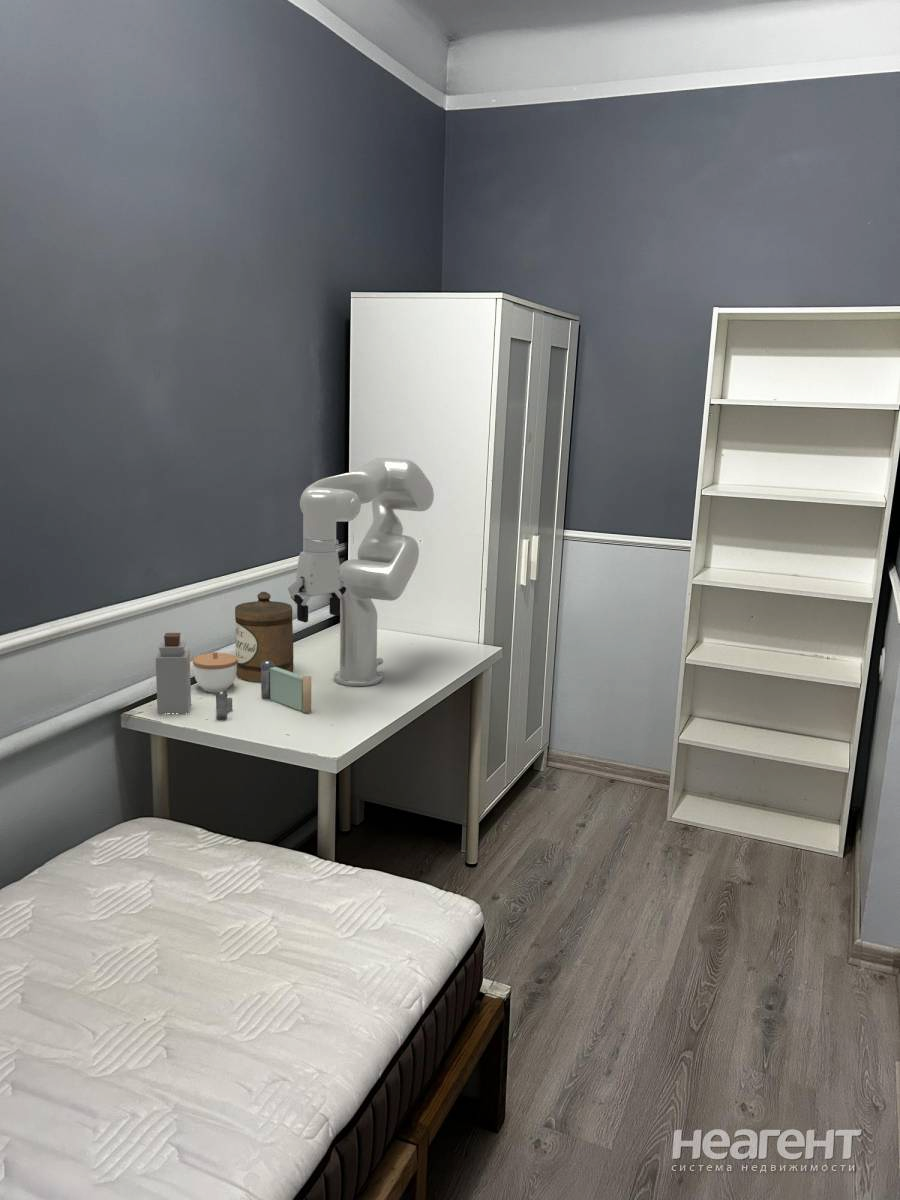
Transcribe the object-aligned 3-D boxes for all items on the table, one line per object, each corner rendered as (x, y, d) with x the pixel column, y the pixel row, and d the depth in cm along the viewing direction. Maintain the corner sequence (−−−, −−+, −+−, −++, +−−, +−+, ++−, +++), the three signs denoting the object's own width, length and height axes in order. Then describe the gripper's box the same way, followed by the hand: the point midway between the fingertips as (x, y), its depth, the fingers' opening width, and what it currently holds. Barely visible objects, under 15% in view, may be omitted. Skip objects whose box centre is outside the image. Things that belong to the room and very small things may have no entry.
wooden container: (230, 668, 249) (229, 587, 244) (285, 663, 255) (285, 585, 250) (242, 685, 236) (241, 600, 231) (299, 679, 242) (299, 597, 237)
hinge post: (266, 694, 229) (265, 657, 227) (276, 696, 228) (276, 659, 226) (258, 698, 226) (257, 660, 224) (269, 700, 225) (268, 662, 223)
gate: (269, 699, 225) (269, 666, 223) (276, 697, 227) (275, 665, 225) (306, 713, 217) (306, 679, 215) (313, 711, 218) (313, 677, 216)
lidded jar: (207, 679, 239) (206, 644, 237) (245, 684, 236) (245, 649, 234) (185, 692, 229) (184, 655, 227) (224, 697, 226) (223, 660, 224)
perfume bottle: (191, 704, 221) (189, 630, 217) (188, 714, 214) (186, 638, 210) (161, 705, 219) (158, 631, 215) (157, 714, 213) (154, 638, 209)
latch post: (229, 709, 218) (228, 682, 216) (241, 712, 216) (241, 685, 215) (209, 718, 212) (209, 690, 210) (222, 721, 210) (222, 693, 209)
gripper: (337, 540, 224) (336, 609, 228) (279, 547, 212) (279, 620, 215) (358, 544, 219) (357, 615, 223) (300, 552, 207) (300, 627, 210)
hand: (319, 618), depth 219 cm, fingers open, 9 cm apart
